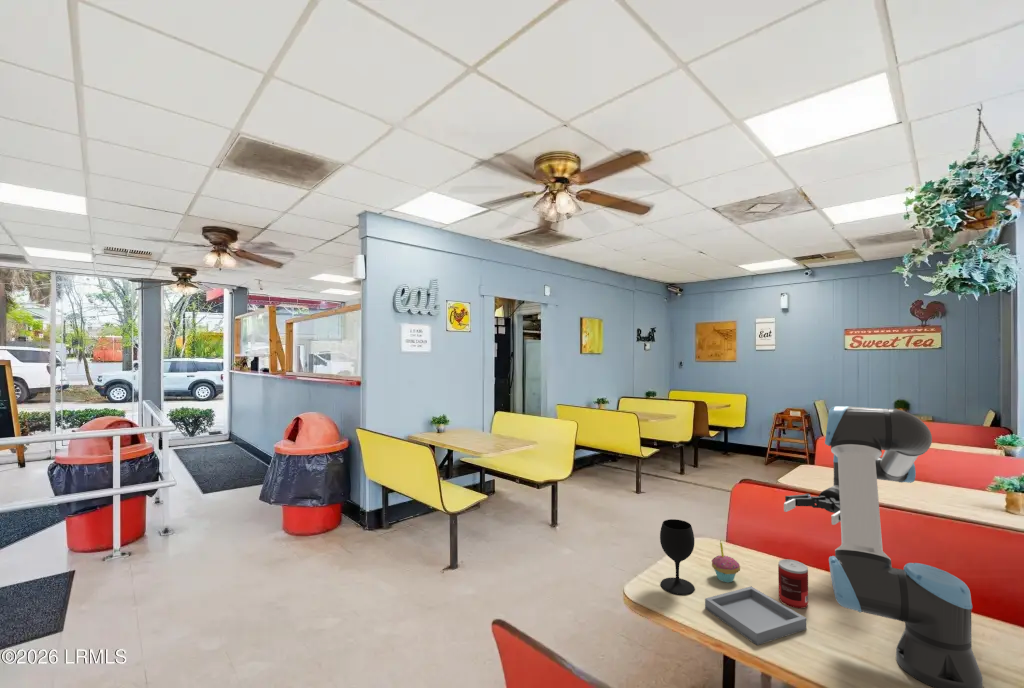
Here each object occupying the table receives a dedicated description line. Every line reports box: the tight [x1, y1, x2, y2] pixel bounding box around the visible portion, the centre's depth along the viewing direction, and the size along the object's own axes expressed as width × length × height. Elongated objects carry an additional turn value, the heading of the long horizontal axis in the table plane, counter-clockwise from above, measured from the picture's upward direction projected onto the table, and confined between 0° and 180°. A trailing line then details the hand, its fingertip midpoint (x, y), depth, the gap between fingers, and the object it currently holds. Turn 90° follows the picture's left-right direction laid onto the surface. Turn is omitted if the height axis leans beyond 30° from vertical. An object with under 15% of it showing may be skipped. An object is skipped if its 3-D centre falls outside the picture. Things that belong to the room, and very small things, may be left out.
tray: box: [704, 586, 807, 646], centre depth 133 cm, size 18×18×3 cm
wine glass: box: [659, 518, 696, 596], centre depth 151 cm, size 10×10×20 cm
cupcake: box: [711, 540, 741, 583], centre depth 155 cm, size 9×8×12 cm
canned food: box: [777, 558, 809, 609], centre depth 142 cm, size 8×8×11 cm
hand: (808, 513), depth 148 cm, fingers open, 13 cm apart
